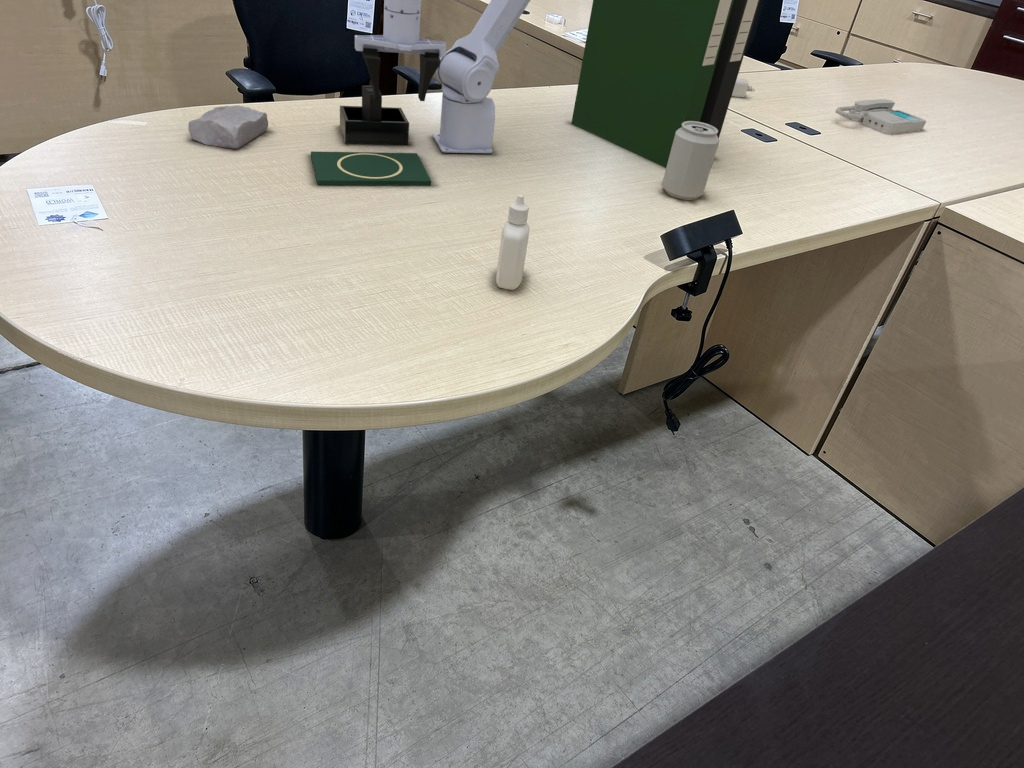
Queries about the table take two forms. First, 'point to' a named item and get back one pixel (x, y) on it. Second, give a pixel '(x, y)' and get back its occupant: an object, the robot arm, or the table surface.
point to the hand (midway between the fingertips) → (398, 98)
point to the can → (690, 160)
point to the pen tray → (374, 127)
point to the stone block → (228, 126)
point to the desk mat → (368, 168)
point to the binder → (659, 69)
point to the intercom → (882, 116)
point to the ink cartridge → (371, 105)
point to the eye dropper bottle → (513, 246)
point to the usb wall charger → (741, 88)
